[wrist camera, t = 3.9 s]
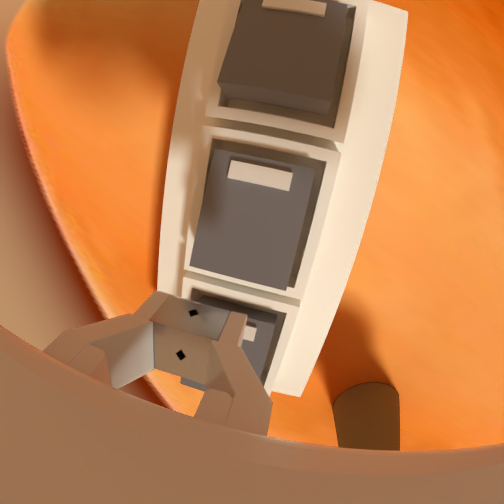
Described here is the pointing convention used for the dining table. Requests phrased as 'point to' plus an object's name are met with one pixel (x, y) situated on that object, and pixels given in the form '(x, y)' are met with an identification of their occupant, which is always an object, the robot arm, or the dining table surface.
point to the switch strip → (293, 152)
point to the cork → (368, 417)
